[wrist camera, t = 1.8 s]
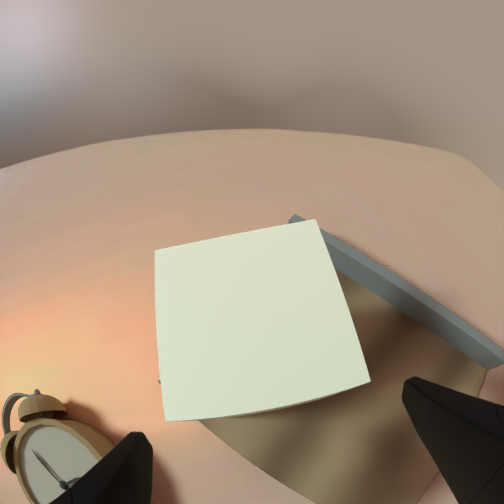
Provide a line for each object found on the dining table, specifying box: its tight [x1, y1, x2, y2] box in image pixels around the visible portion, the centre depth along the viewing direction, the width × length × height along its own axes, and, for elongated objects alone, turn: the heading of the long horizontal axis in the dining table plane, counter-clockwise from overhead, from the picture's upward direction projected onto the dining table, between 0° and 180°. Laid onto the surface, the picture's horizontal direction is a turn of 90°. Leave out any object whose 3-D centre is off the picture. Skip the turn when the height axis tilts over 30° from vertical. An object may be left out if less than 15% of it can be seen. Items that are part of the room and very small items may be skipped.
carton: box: [155, 219, 371, 421], centre depth 13 cm, size 6×6×11 cm
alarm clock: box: [0, 389, 115, 504], centre depth 13 cm, size 11×5×15 cm
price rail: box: [289, 214, 504, 370], centre depth 19 cm, size 21×1×4 cm, turn 50°
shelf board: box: [158, 268, 487, 504], centre depth 17 cm, size 21×15×1 cm
